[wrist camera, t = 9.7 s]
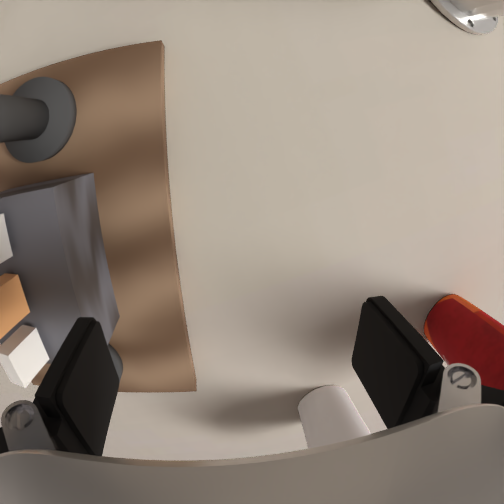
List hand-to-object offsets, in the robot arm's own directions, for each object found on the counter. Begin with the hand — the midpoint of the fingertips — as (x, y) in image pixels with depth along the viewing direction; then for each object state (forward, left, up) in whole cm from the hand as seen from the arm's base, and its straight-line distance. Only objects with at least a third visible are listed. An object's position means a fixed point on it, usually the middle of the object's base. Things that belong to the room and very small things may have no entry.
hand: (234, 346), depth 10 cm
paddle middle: (0, -12, -6) cm, 14 cm away
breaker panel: (0, -12, -13) cm, 18 cm away
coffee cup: (+11, +24, -13) cm, 29 cm away
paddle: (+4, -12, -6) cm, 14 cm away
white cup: (+20, +10, -13) cm, 26 cm away
